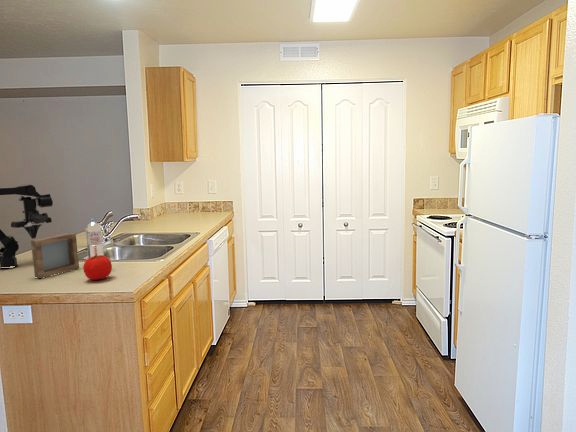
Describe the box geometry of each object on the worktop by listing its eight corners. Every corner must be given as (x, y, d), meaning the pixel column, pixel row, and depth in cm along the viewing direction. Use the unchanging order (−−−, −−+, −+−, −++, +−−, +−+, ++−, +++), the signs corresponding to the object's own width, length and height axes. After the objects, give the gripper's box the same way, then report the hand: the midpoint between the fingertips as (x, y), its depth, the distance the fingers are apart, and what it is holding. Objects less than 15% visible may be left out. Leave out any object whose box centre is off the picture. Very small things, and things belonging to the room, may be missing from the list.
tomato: (104, 274, 207) (102, 250, 206) (117, 278, 200) (115, 253, 199) (79, 280, 198) (76, 255, 197) (92, 284, 191) (89, 259, 190)
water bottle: (107, 268, 218) (102, 217, 214) (101, 272, 211) (97, 219, 208) (93, 269, 218) (88, 218, 214) (87, 273, 211) (82, 220, 207)
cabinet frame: (35, 278, 204) (30, 240, 202) (73, 267, 222) (70, 233, 219) (40, 279, 203) (36, 241, 200) (79, 268, 220) (75, 233, 218)
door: (34, 275, 207) (30, 241, 205) (66, 267, 222) (63, 235, 220) (37, 276, 206) (33, 242, 204) (70, 267, 221) (67, 235, 218)
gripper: (22, 211, 219) (25, 242, 222) (56, 206, 236) (60, 236, 238) (8, 210, 225) (12, 241, 227) (43, 206, 241) (46, 234, 243)
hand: (33, 238), depth 234 cm, fingers closed
